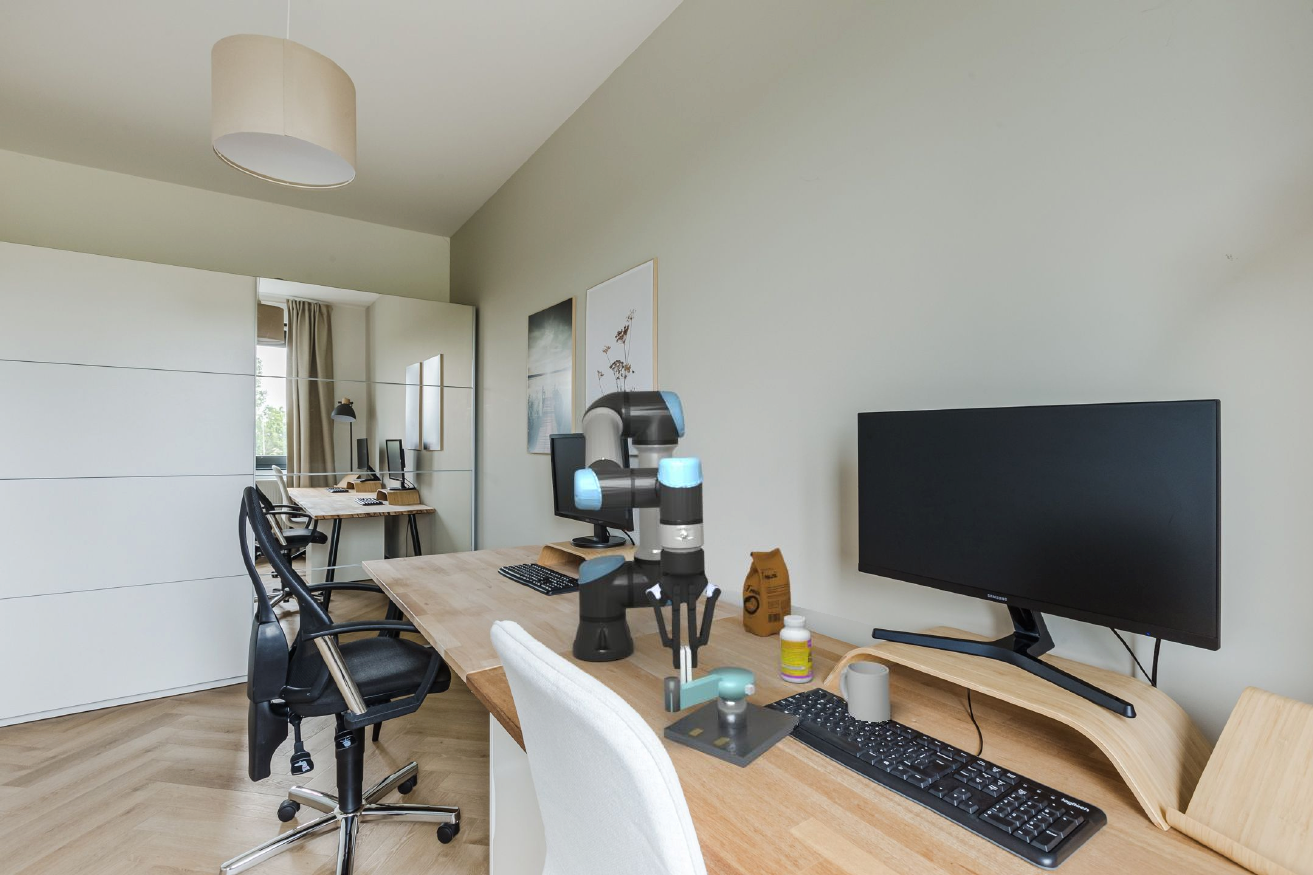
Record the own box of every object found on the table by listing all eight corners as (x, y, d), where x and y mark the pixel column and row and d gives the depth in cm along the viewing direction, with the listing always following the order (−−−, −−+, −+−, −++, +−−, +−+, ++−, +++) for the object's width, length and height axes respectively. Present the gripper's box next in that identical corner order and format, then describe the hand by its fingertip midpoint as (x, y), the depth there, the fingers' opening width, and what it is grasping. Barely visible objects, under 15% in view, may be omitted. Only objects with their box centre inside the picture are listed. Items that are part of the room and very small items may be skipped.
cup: (873, 730, 101) (871, 678, 101) (827, 710, 110) (826, 662, 110) (899, 720, 105) (897, 669, 105) (853, 701, 113) (851, 654, 114)
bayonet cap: (728, 675, 109) (727, 649, 109) (768, 691, 101) (767, 663, 101) (648, 701, 98) (647, 672, 98) (686, 721, 90) (685, 690, 90)
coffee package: (738, 630, 162) (735, 549, 163) (771, 622, 169) (769, 545, 170) (762, 639, 154) (759, 554, 155) (796, 630, 160) (794, 549, 161)
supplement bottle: (813, 685, 122) (811, 622, 122) (780, 683, 123) (779, 621, 124) (811, 673, 128) (809, 614, 129) (780, 672, 130) (778, 613, 130)
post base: (663, 737, 100) (663, 695, 101) (724, 702, 114) (723, 666, 114) (743, 767, 90) (742, 721, 90) (799, 725, 104) (798, 685, 104)
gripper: (644, 553, 96) (647, 698, 96) (724, 550, 97) (728, 694, 97) (641, 545, 103) (645, 680, 103) (716, 542, 104) (720, 676, 104)
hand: (685, 686), depth 100 cm, fingers closed
